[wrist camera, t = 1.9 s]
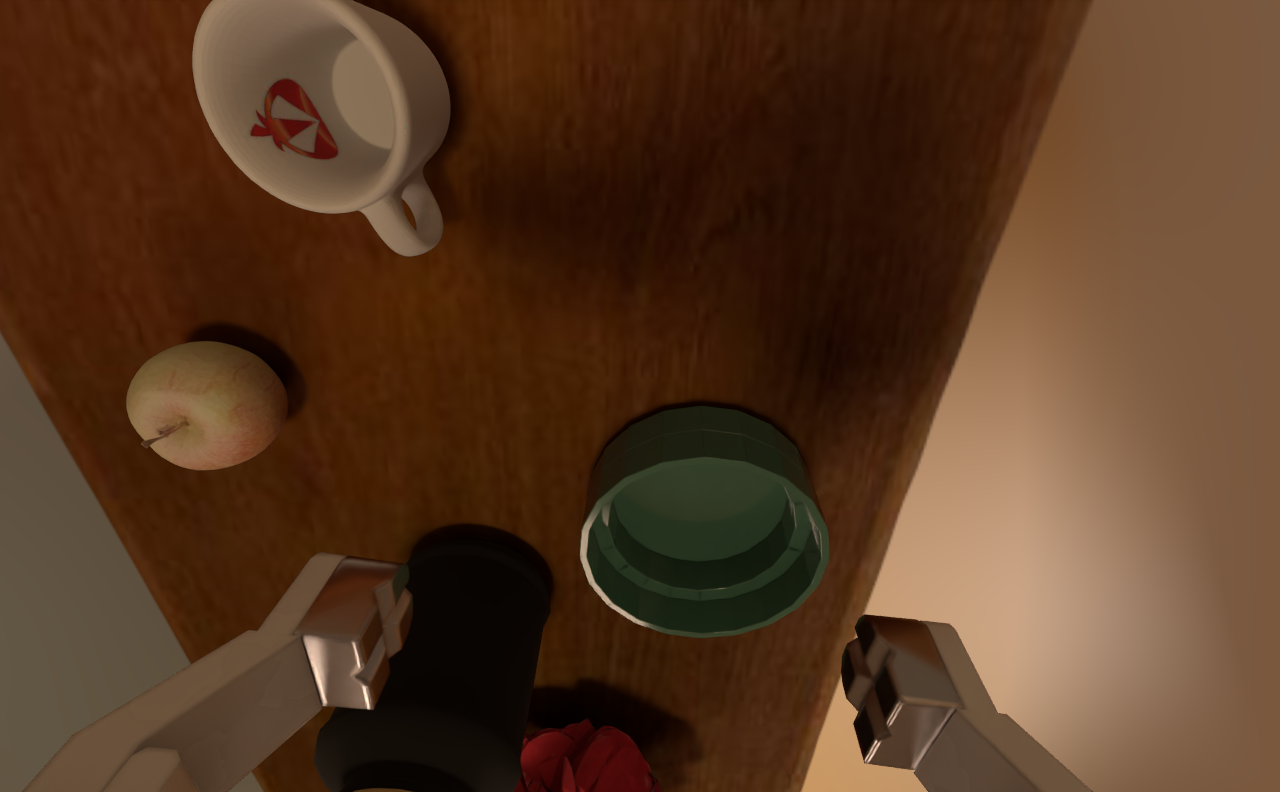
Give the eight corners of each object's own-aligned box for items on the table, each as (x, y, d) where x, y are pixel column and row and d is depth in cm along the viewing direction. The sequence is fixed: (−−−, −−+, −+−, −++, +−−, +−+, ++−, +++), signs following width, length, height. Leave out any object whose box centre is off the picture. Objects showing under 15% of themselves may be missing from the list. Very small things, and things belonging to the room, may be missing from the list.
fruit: (200, 410, 38) (97, 487, 32) (182, 311, 35) (60, 374, 28) (314, 436, 39) (237, 516, 32) (308, 341, 35) (220, 409, 28)
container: (591, 588, 45) (549, 862, 30) (491, 646, 50) (409, 911, 34) (476, 495, 41) (357, 759, 26) (378, 568, 45) (225, 831, 30)
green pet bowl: (802, 385, 35) (824, 441, 30) (813, 558, 42) (833, 627, 37) (568, 419, 37) (551, 476, 32) (617, 578, 45) (610, 646, 39)
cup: (523, 201, 30) (480, 242, 24) (397, 250, 32) (322, 302, 25) (417, -35, 25) (323, -70, 19) (274, 37, 27) (139, 30, 20)
